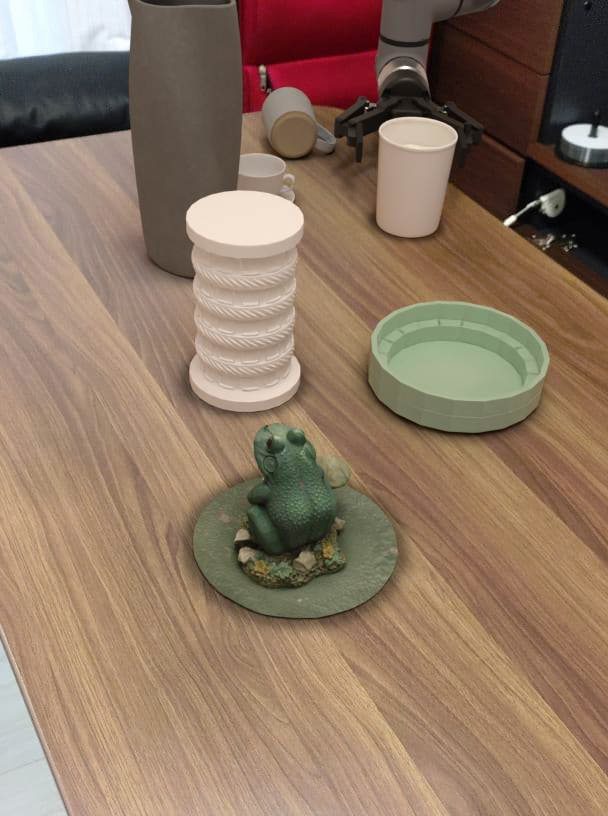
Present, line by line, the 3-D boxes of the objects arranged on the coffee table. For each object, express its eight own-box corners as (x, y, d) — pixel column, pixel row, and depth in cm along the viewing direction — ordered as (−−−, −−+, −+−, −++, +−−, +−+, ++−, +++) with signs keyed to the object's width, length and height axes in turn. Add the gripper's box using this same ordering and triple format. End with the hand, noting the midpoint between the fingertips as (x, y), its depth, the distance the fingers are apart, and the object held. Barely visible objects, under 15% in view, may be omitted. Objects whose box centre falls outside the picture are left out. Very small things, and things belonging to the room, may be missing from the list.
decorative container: (193, 415, 97) (186, 249, 85) (185, 350, 105) (177, 190, 93) (308, 408, 99) (317, 245, 86) (291, 345, 107) (298, 186, 94)
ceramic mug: (269, 162, 140) (271, 107, 135) (260, 139, 146) (261, 85, 141) (340, 160, 142) (345, 107, 137) (329, 137, 148) (333, 85, 142)
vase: (244, 287, 115) (243, 10, 94) (139, 287, 114) (115, 7, 93) (241, 237, 124) (241, -26, 103) (144, 237, 123) (124, -30, 102)
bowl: (526, 340, 110) (535, 305, 107) (552, 441, 97) (562, 405, 94) (365, 332, 109) (369, 296, 106) (369, 432, 96) (374, 395, 93)
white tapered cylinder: (359, 230, 127) (367, 138, 118) (384, 200, 133) (393, 111, 125) (431, 247, 124) (444, 154, 116) (453, 216, 131) (467, 125, 122)
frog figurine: (334, 454, 94) (342, 352, 86) (437, 577, 83) (458, 473, 75) (161, 508, 87) (152, 403, 79) (248, 649, 76) (248, 544, 68)
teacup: (212, 209, 129) (211, 175, 126) (232, 178, 136) (232, 144, 133) (285, 220, 128) (286, 185, 125) (302, 188, 135) (303, 154, 132)
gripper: (484, 125, 145) (500, 188, 130) (317, 116, 145) (314, 178, 130) (493, 72, 140) (511, 131, 125) (319, 63, 140) (317, 121, 125)
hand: (411, 155), depth 127 cm, fingers open, 13 cm apart
